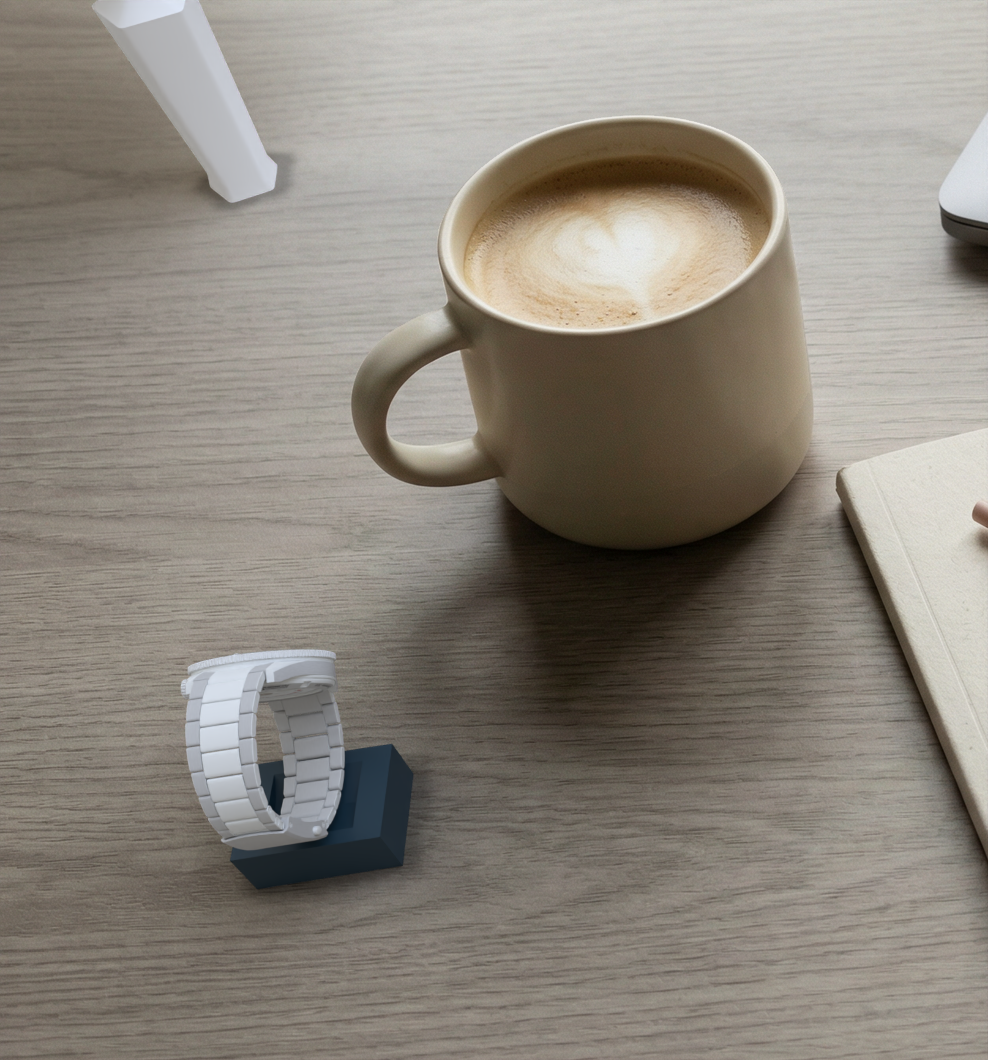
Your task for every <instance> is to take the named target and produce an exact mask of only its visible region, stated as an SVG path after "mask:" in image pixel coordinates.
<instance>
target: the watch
mask: <svg viewBox="0 0 988 1060" xmlns="http://www.w3.org/2000/svg"><path fill="white" fill-rule="evenodd" d="M336 661H337V654H336V652H334V651H330V650H326V649H317V648H316V649H313V648H311V649H310V648H302V649H301V648H300V649H299V648H298V649H297V648H294V649H272V650H262V651H252V652H251V651H250V652H243V653H233V654H230V655H223V656H219V657H213V658H209V659H205V660H201V661H197V662H195V663H193V664H190V665H189V666H187V670H186V671H187V675H188V676H189V677H188V678H186V679H185V678H184V679H183V680H182V681H181V682H180V694H181V696H182V698H183V699H184V700H186V701H187V700H188V701H187V704H186V705H187V706H186V714H185V721H186V722H185V725H184V731H185V732H184V733H185V735H184V736H185V745H186V750H185V751H186V758H187V764H188V769H189V772H190V776H191V780H192V784H193V787H194V790H195V793H196V795H197V797H198V801H199V804H200V806H201V808H202V811H203V813H204V815H205V816H206V818H207V820H208V822H209V824H210V825H211V827H212V828H213V829H214V830H215V831H216V832H217V834H218V835H220V836H221V839H220V842H222V843H223V844H225V845H227V846H228V847H229V846H230V847H231V853H230V858H229V862H230V863H231V864H232V866H234V867H235V868H236V869H237V870H238V872H240V873H241V874H242V875H243V876H244V877H245V878H246V879H247V881H248V882H249V883H250V884H251V885H252V886H253V887H254V888H255V889H256V890H261V889H262V890H263V889H269V888H274V887H280V886H286V885H287V886H288V885H294V884H299V883H305V882H313V881H318V880H324V879H331V878H335V877H342V876H349V875H354V874H362V873H368V872H373V871H380V870H386V869H391V868H398V867H403V866H404V861H405V860H404V859H405V851H406V843H407V834H408V827H409V826H408V825H409V817H410V808H411V800H412V792H413V784H414V783H413V782H414V775H415V774H414V772H413V771H412V770H411V768H410V766H409V765H408V764H407V762H406V761H405V759H404V758H403V757H402V755H401V754H400V753H399V751H398V750H397V748H396V747H395V745H394V744H393V743H387V744H380V745H374V746H367V747H360V748H359V747H358V748H354V749H346V750H345V746H344V744H345V743H344V742H345V741H344V731H343V725H342V723H341V716H340V711H339V707H338V706H339V705H338V703H337V701H336V698H335V695H334V693H338V692H339V685H338V679H337V672H336V665H335V662H336ZM264 703H265V704H268V707H269V710H270V711H271V712H273V713H272V716H273V719H274V722H275V726H276V729H277V731H278V732H279V734H278V735H279V742H280V746H281V750H282V753H283V754H284V755H283V756H282V757H283V758H282V759H281V760H276V761H269V762H261V763H257V762H258V758H259V757H258V745H257V744H258V743H257V739H256V738H255V737H256V736H257V721H258V720H257V719H258V718H257V715H256V714H257V713H258V710H259V709H258V708H259V704H264Z"/></svg>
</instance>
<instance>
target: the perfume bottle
mask: <svg viewBox="0 0 988 1060" xmlns="http://www.w3.org/2000/svg"><path fill="white" fill-rule="evenodd" d="M91 8H92V10H93V12H94V13H95V14H96V16H97V18H98V19H99V20H100V22H101V24H103V26H104V28H105V29H106V30H107V31H108V33H109V34H110V36H111V38H112V39H113V40H114V42H115V44H116V45H117V46H118V47H119V49H120V50H121V52H122V53H123V55H124V56H125V57H126V59H127V60H128V62H129V63H130V64H131V66H132V68H133V69H134V70H135V72H136V73H137V75H138V76H139V78H140V79H141V81H142V82H143V84H144V85H145V86H146V88H147V89H148V91H149V92H150V93H151V95H152V97H153V99H154V100H155V101H156V102H157V104H158V105H159V106H160V108H161V109H162V111H163V112H164V114H165V115H166V117H167V118H168V119H169V121H170V123H171V124H172V125H173V127H174V128H175V130H176V131H177V132H178V134H179V136H180V137H181V138H182V140H183V141H184V142H185V144H186V145H187V147H188V149H189V150H190V151H191V153H192V154H193V156H194V157H195V159H196V160H197V161H198V163H199V164H200V165H201V167H202V168H203V170H204V172H205V173H206V175H207V179H208V183H209V187H210V189H212V190H213V191H214V192H216V193H217V194H218V195H219V196H220V197H221V198H223V199H224V200H226V202H228V203H229V204H232V203H237V202H240V201H243V200H247V199H250V198H253V197H255V196H258V195H262V194H265V193H269V192H270V191H273V190H274V189H275V188H276V180H277V174H278V164H277V162H275V161H274V160H273V159H272V158H271V157H270V156H269V155H268V154H267V152H266V149H265V147H264V145H263V143H262V140H261V137H260V136H259V134H258V131H257V129H256V127H255V125H254V122H253V119H252V118H251V116H250V113H249V111H248V108H247V106H246V104H245V102H244V100H243V98H242V95H241V93H240V90H239V88H238V85H237V84H236V82H235V79H234V77H233V74H232V72H231V70H230V68H229V65H228V64H227V61H226V59H225V57H224V55H223V52H222V50H221V48H220V44H219V42H218V40H217V38H216V36H215V34H214V32H213V29H212V27H211V25H210V23H209V20H208V18H207V16H206V13H205V11H204V9H203V7H202V5H201V2H200V0H96V1H94V2H93V3H92V4H91Z"/></svg>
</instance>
